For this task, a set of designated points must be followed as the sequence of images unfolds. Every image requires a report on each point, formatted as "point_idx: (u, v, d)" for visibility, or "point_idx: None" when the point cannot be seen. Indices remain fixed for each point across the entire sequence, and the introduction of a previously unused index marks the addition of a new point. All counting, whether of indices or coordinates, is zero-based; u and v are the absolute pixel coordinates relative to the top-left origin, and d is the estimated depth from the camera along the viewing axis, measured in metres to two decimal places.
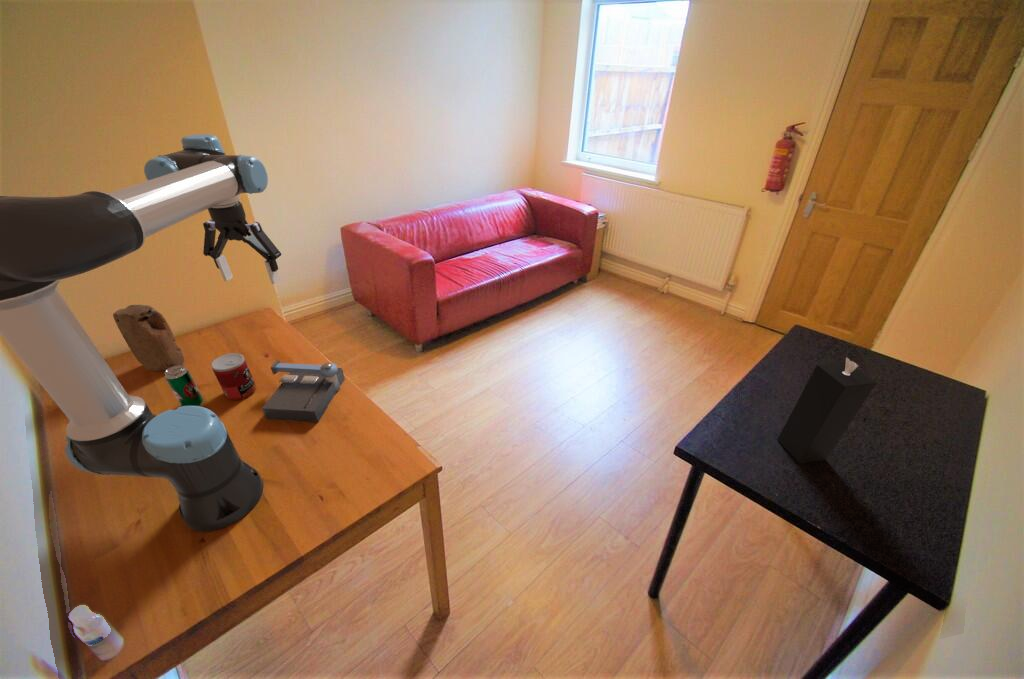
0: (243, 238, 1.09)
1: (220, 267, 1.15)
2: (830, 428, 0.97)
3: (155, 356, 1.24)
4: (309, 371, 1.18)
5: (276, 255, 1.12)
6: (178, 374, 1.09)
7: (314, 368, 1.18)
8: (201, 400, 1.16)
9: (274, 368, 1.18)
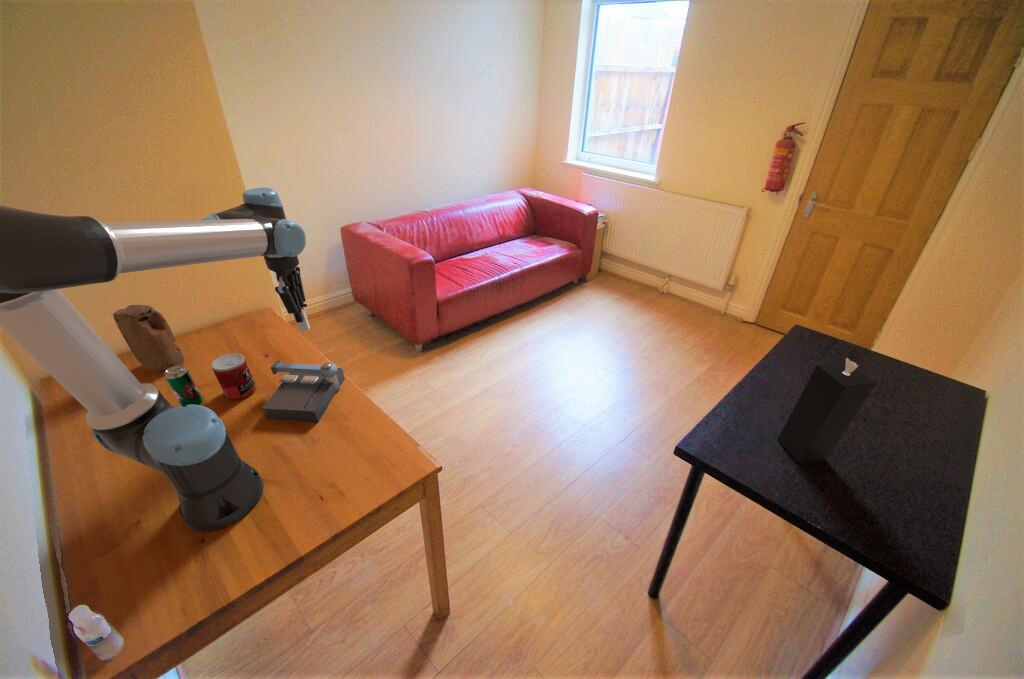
0: None
1: None
2: (830, 428, 0.97)
3: (155, 356, 1.24)
4: (309, 371, 1.18)
5: (289, 312, 1.14)
6: (178, 374, 1.09)
7: (314, 368, 1.18)
8: (201, 400, 1.16)
9: (274, 368, 1.18)
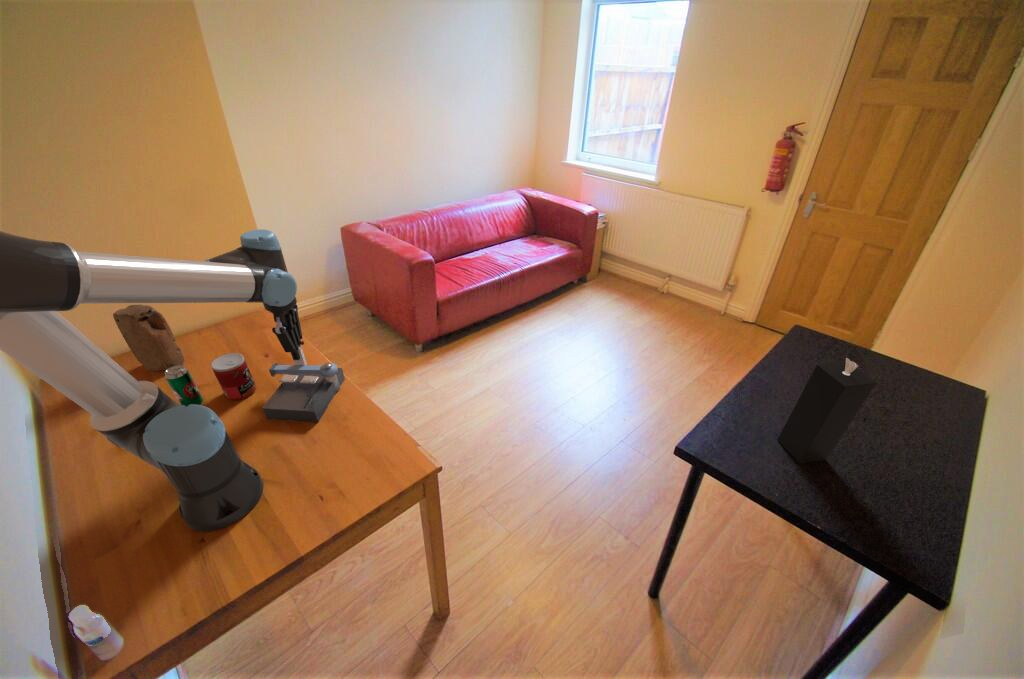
0: None
1: None
2: (830, 428, 0.97)
3: (155, 356, 1.24)
4: (309, 372, 1.17)
5: (286, 351, 1.12)
6: (178, 374, 1.09)
7: (314, 368, 1.17)
8: (201, 400, 1.16)
9: (272, 370, 1.17)
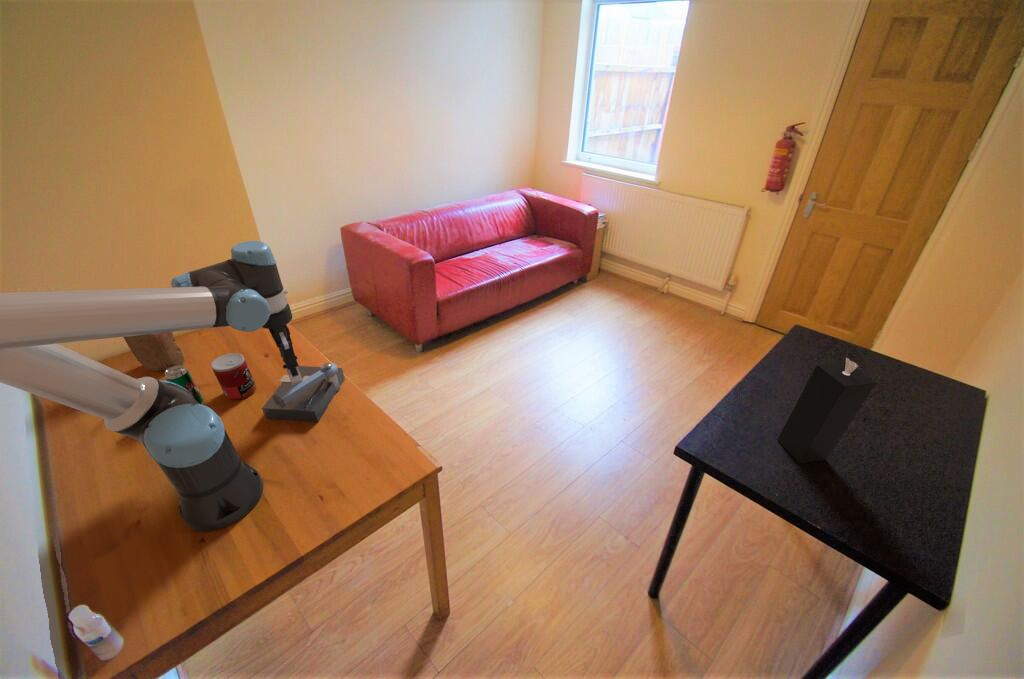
0: (276, 343, 1.03)
1: (287, 372, 1.10)
2: (830, 428, 0.97)
3: (155, 356, 1.24)
4: (315, 381, 1.14)
5: (289, 368, 1.06)
6: (178, 374, 1.09)
7: (318, 375, 1.15)
8: (201, 400, 1.16)
9: (282, 400, 1.07)
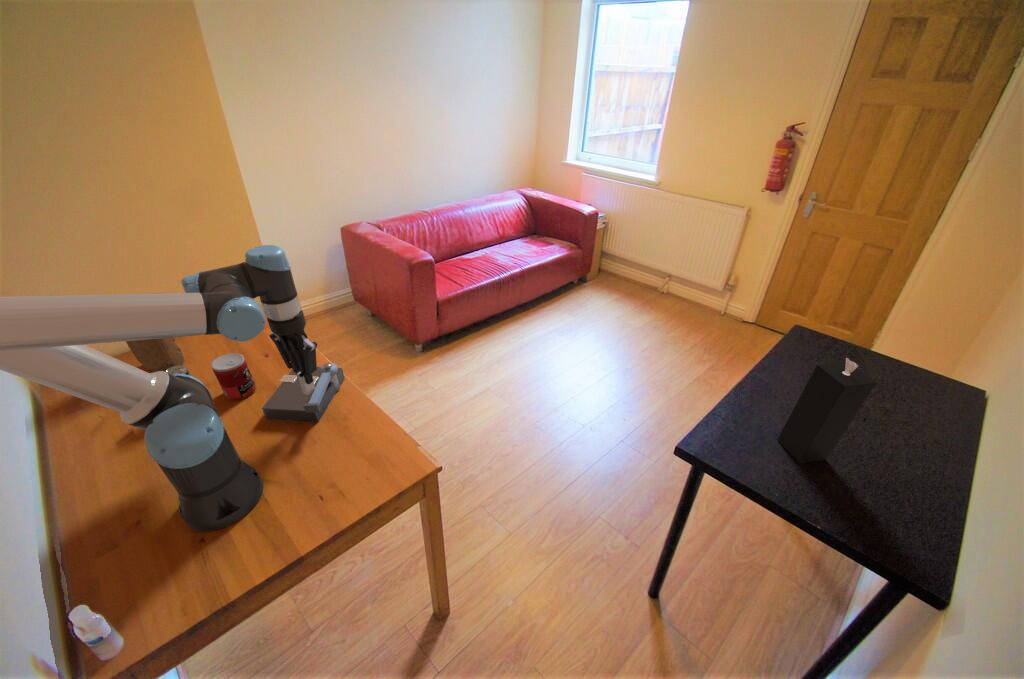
0: (294, 350, 1.00)
1: (300, 381, 1.07)
2: (830, 428, 0.97)
3: (155, 356, 1.24)
4: (327, 381, 1.14)
5: (310, 373, 1.04)
6: None
7: (326, 375, 1.15)
8: None
9: None
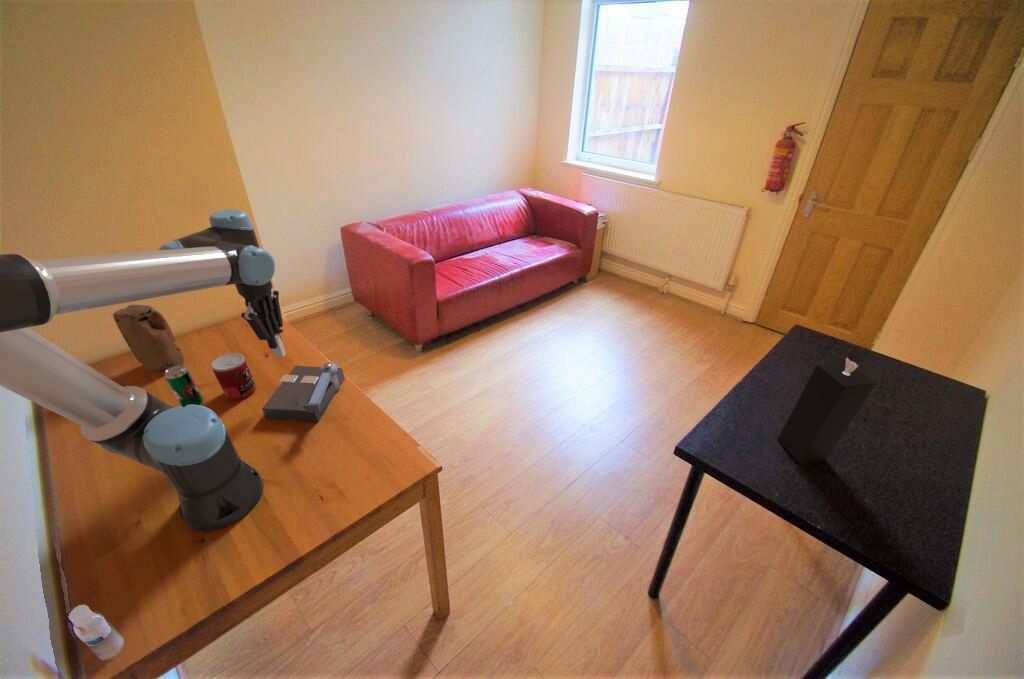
0: None
1: None
2: (830, 428, 0.97)
3: (155, 356, 1.24)
4: (327, 381, 1.14)
5: (260, 338, 1.08)
6: (178, 374, 1.09)
7: (326, 375, 1.15)
8: (201, 400, 1.16)
9: None
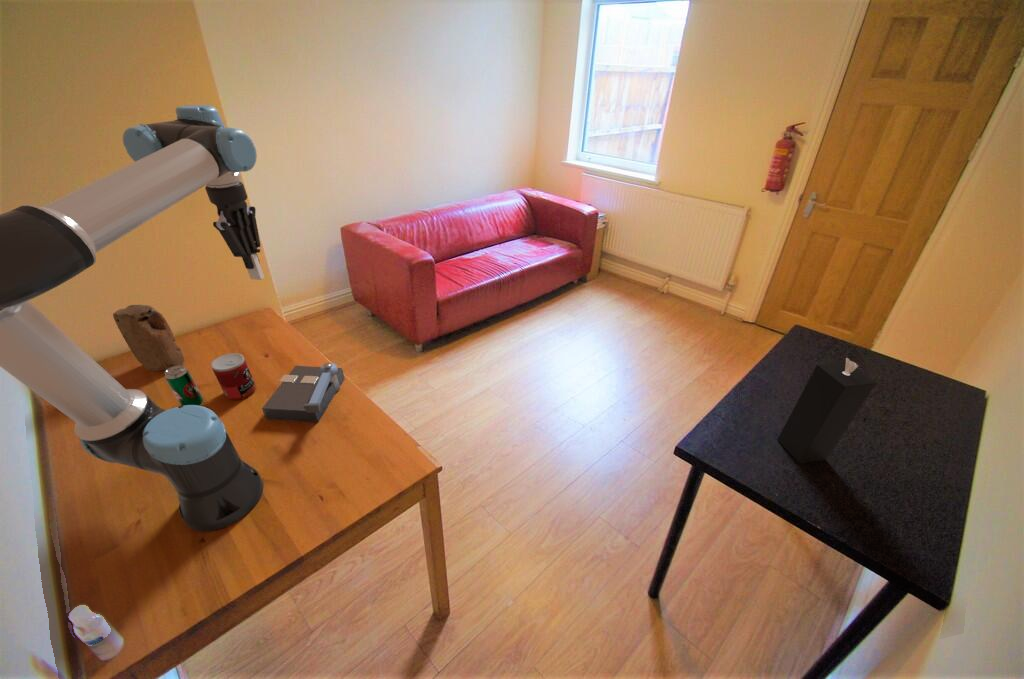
0: None
1: None
2: (830, 428, 0.96)
3: (155, 356, 1.24)
4: (327, 381, 1.14)
5: (235, 255, 1.01)
6: (178, 374, 1.09)
7: (326, 375, 1.15)
8: (201, 400, 1.16)
9: None
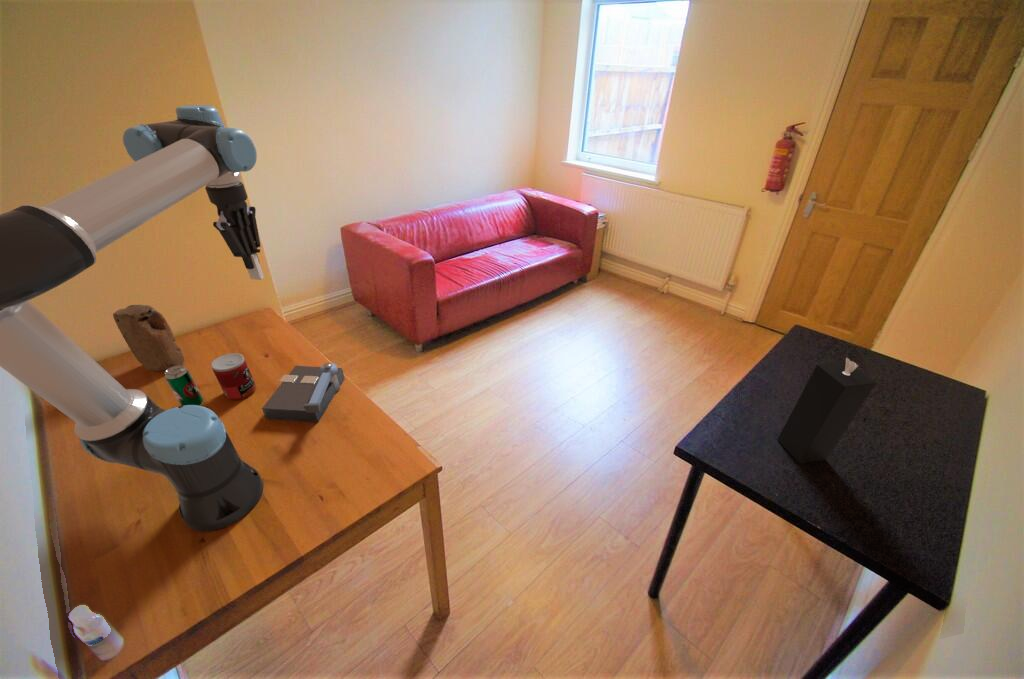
0: None
1: None
2: (830, 428, 0.97)
3: (155, 356, 1.24)
4: (327, 381, 1.14)
5: (235, 255, 1.01)
6: (178, 374, 1.09)
7: (326, 375, 1.15)
8: (201, 400, 1.16)
9: None
